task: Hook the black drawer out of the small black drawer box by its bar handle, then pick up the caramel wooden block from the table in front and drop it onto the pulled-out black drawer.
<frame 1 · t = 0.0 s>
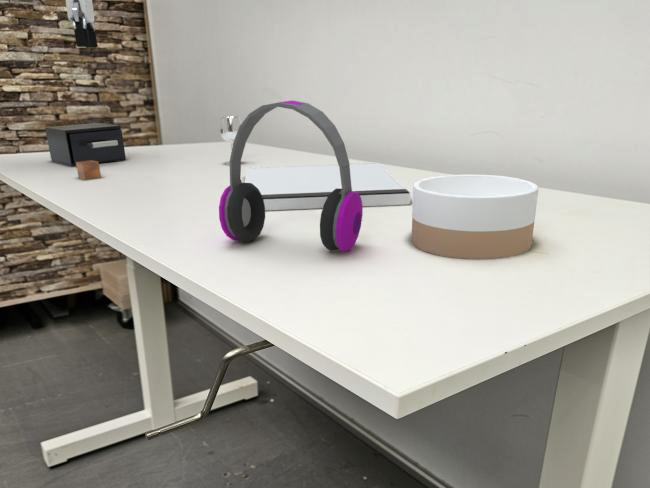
hand: (87, 47, 158), 30 cm above the table, tool pointing down, fingers open, 9 cm apart
bowl: (470, 243, 89), on the table
drawer box: (88, 161, 174), on the table
black drawer: (92, 145, 169), point 5 cm above the table, slide at 0.5 cm
block: (90, 178, 146), on the table
wineglass: (234, 164, 163), on the table
headphones: (292, 246, 89), on the table
pale grey flat slab: (319, 190, 127), on the table
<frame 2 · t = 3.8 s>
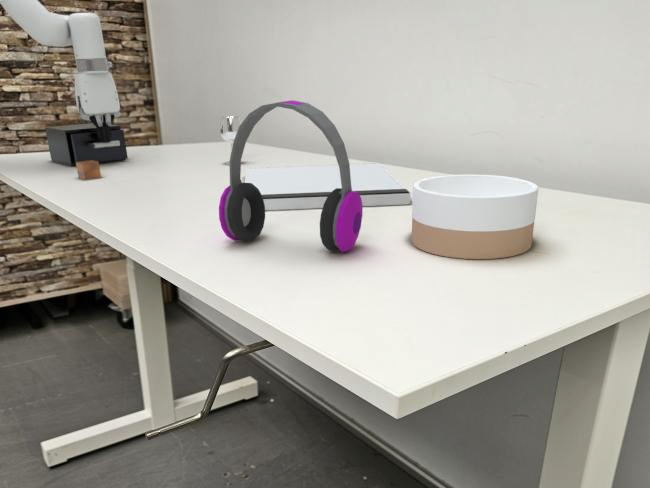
hand: (105, 141, 162), 6 cm above the table, tool pointing down, fingers closed
black drawer: (94, 145, 168), point 5 cm above the table, slide at 1.7 cm, touching gripper
everything else where it was.
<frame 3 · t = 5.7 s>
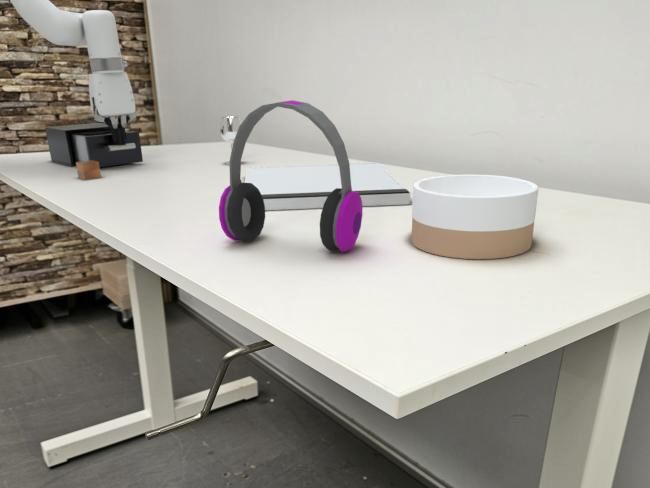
hand: (120, 143, 156), 6 cm above the table, tool pointing down, fingers closed
black drawer: (108, 148, 162), point 5 cm above the table, slide at 10.7 cm, touching gripper
everything else where it was.
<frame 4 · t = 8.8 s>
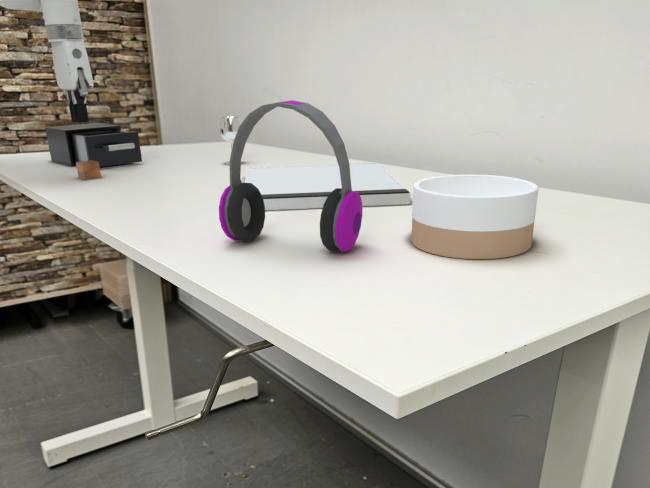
hand: (80, 121, 141), 13 cm above the table, tool pointing down, fingers closed
black drawer: (107, 148, 162), point 5 cm above the table, slide at 10.3 cm
everything else where it was.
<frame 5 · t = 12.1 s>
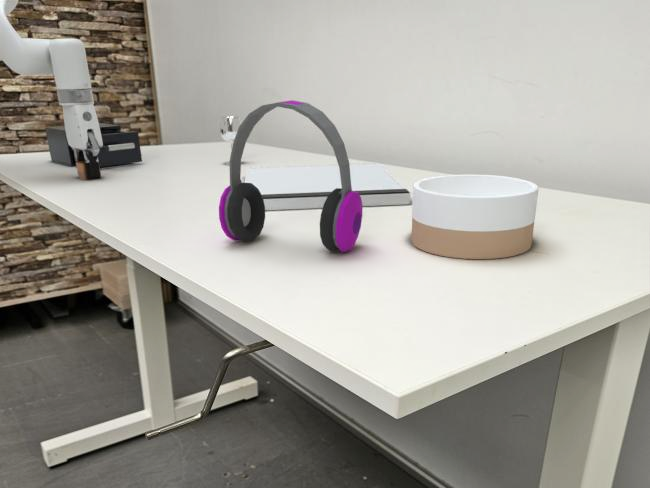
hand: (89, 177, 146), 0 cm above the table, tool pointing down, fingers closed on block, 4 cm apart
block: (90, 178, 146), on the table, touching gripper
everything else where it was.
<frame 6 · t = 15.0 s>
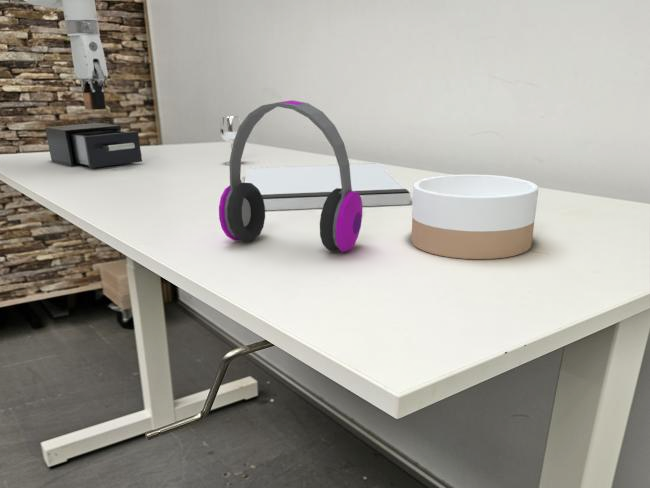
hand: (95, 107, 156), 15 cm above the table, tool pointing down, fingers closed on block, 4 cm apart
block: (95, 109, 156), point 15 cm above the table, touching gripper
everything else where it was.
when the fingers open (6 cm above the table, at t = 18.3 s): block drops 4 cm, resting on black drawer.
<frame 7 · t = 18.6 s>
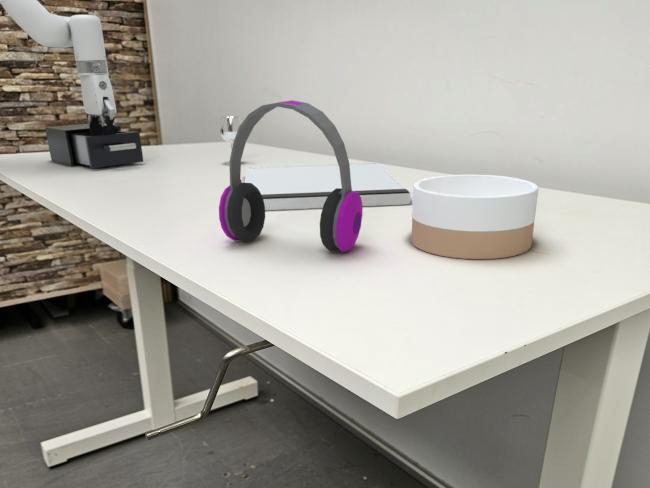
hand: (103, 140, 162), 7 cm above the table, tool pointing down, fingers open, 7 cm apart
black drawer: (108, 148, 161), point 5 cm above the table, slide at 11.0 cm, touching block, gripper
block: (108, 158, 163), point 2 cm above the table, touching black drawer
everything else where it was.
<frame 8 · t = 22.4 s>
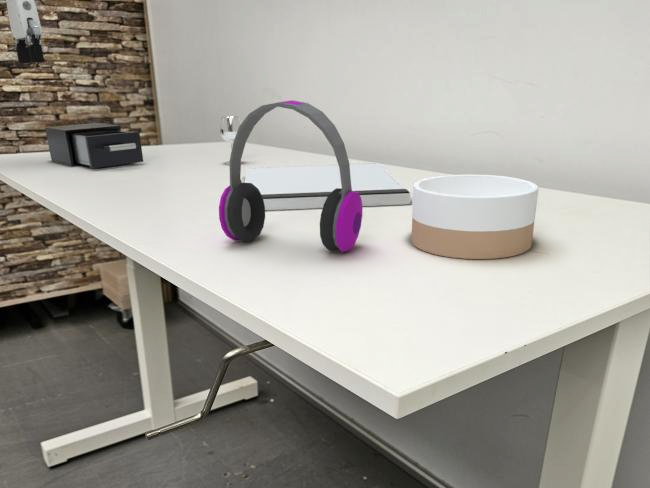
hand: (31, 62, 163), 26 cm above the table, tool pointing down, fingers open, 9 cm apart
black drawer: (108, 148, 161), point 5 cm above the table, slide at 11.0 cm, touching block
everything else where it was.
at the end: black drawer slide at 11.0 cm; block inside the target area in the black drawer (2.7 cm from its centre), point 2.0 cm above the black drawer's base; the gripper is holding nothing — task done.
